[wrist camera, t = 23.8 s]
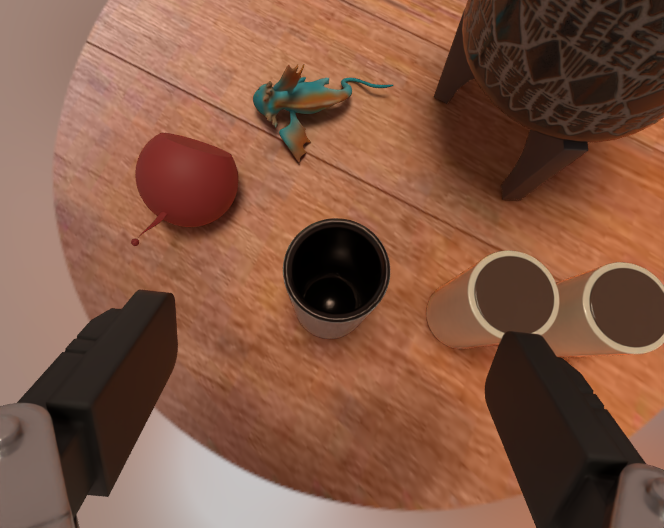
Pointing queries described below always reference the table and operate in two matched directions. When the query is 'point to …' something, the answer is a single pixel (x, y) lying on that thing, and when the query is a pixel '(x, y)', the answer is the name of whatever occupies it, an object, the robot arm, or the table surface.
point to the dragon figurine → (299, 103)
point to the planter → (561, 74)
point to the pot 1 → (494, 301)
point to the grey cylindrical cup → (335, 276)
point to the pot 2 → (608, 313)
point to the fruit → (185, 180)
